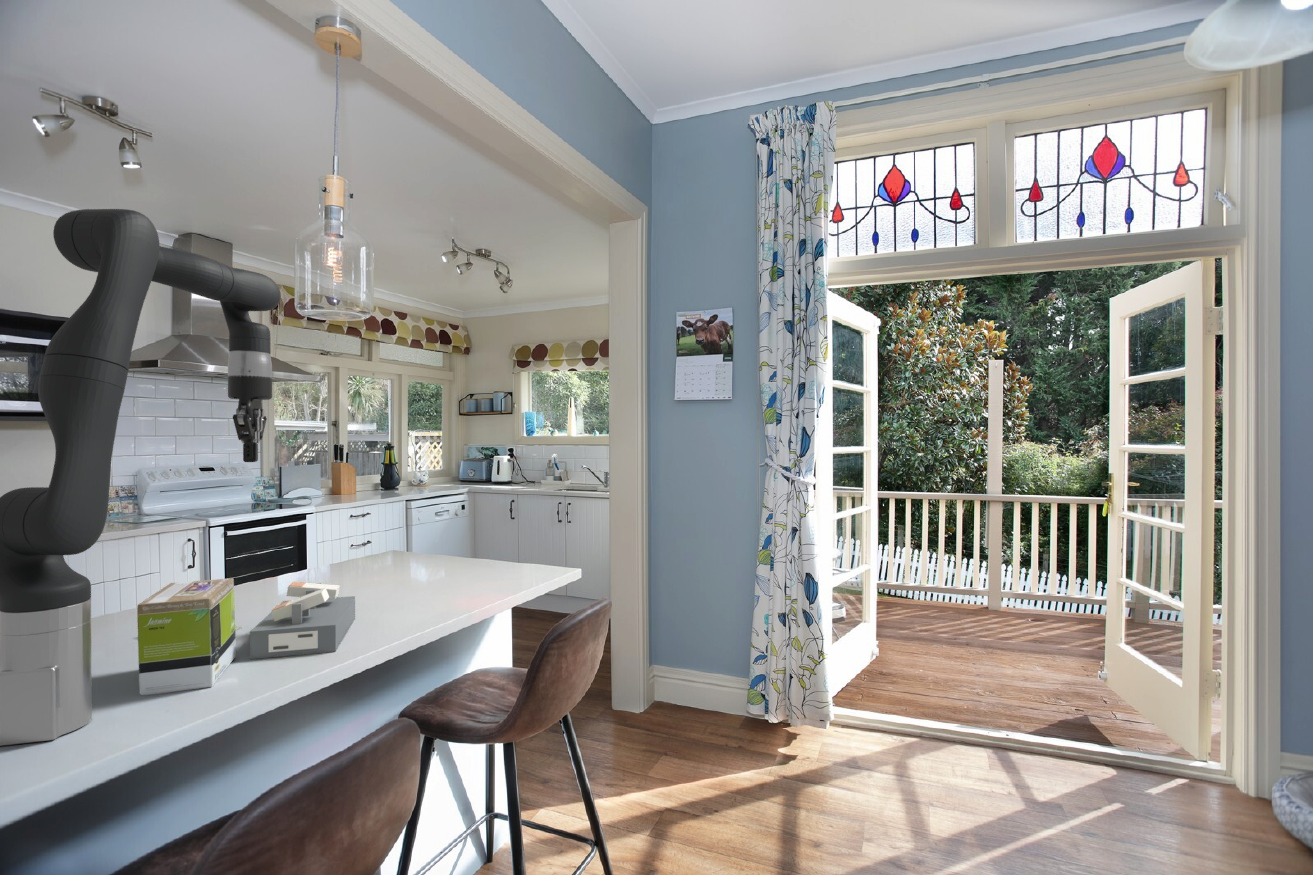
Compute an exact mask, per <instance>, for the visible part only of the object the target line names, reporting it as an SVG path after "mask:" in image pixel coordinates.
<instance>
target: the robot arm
mask: <svg viewBox="0 0 1313 875" xmlns="http://www.w3.org/2000/svg"><path fill="white" fill-rule="evenodd" d="M53 226H54V227H53V233H52V234H53V239H54V240H53V241H54V244H55V246H56V248H57V250H58V251H59V253H60V254H61V255H62V256H63V257H64V259H66V261H67V262H69V263H71V264H72V265H73V266H75V267H77V268H79V269H81V270H84V271H89V272H93V273H97V276H96V279H95V282H94V284H93V287H92V289H91V292H90V293H89V295H88V296H87V297H86V299H85V300H84V301H83V303H81V305H80V306H79V307H78V308H77V309H76V310H75V311H74V312H73V313H72V315H71V316H70V317H69V318H67V320H66V321H65V322H64V323H63V324H62V325H61V326H60V327H59V329H58V330H57V331H56V332H55V334H54V335H53V336H52V337H51V340H50V341H49V342H48V344H47V347H46V350H45V353H44V357H43V359H42V364H41V369H40V374H39V378H38V385H37V395H38V401H39V403H40V407H41V409H42V413H43V414H44V417H45V419H46V421H47V425H48V426H49V429H50V431H51V434H52V436H53V440H54V447H55V450H54V451H55V457H54V458H55V459H54V464H53V469H52V474H51V479H50V482H49V485H48V487H47V486H45V487H43V486H42V487H41V486H38V487H37V486H36V487H35V486H33V487H32V486H31V487H29V486H28V487H21V488H15V489H12V490H10V491H8V492H6V493H4V494H3V495H1V496H0V746H9V745H10V746H11V745H19V744H29V743H36V742H44V741H53V740H57V738H59V737H60V736H63V735H66V734H69V733H71V732H73V731H75V730H78V729H80V728H82V727H84V726H86V725H87V724H88V723H90V721H92V717H93V716H92V713H93V712H92V711H93V708H92V707H93V706H92V705H93V704H92V703H93V702H92V700H93V698H92V697H93V696H92V695H93V691H92V690H93V689H92V688H93V686H92V682H93V681H92V673H93V672H92V584H91V581H90V579H89V578H88V577H86V576H84V575H83V574H80V573H78V572H77V571H75V569H73V568H71V567H70V566H69V564H68V563H67V562H66V560H65V558H64V556H72V555H78V554H81V553H84V552H85V551H87V550H89V549H91V547H92V546H94V544H96V543H97V541H98V540H99V538H100V537H101V535H102V533H103V530H104V528H105V526H106V521H107V517H108V512H109V511H108V509H109V499H110V486H111V485H110V484H111V470H112V469H111V468H112V459H113V458H112V457H113V452H114V451H113V450H114V444H115V438H116V433H117V426H118V420H119V414H120V410H121V406H122V402H123V398H124V393H125V389H126V384H127V381H128V380H127V379H128V375H129V369H130V362H131V356H132V351H133V346H134V342H135V337H136V334H137V331H138V330H137V329H138V326H139V322H140V318H141V317H140V316H141V313H142V309H143V307H144V306H143V305H144V302H145V300H146V298H147V294H148V292H149V288H150V286H151V283H152V282H154V283H157V284H160V285H164V286H168V287H172V288H176V289H178V290H181V291H185V292H187V293H191V294H194V295H197V296H200V297H203V298H206V299H209V300H213V301H216V302H217V301H218V302H219V303H220V305H221V306H220V307H221V309H222V312H223V315H224V319H225V322H226V326H227V330H228V336H229V337H228V346H229V348H228V351H229V352H228V358H227V359H228V360H227V398H229V399H231V400H238V404H237V408H236V409H235V414H232V420H233V421H232V422H233V425H234V428H235V431H236V435H237V438H238V440H239V441H241V444H242V455H243V456H242V460H243V462H244V463H257V462H258V461H259V443H260V441H262V440H263V436H264V433H265V432H264V431H265V429H266V422H267V420H268V418H267V416H266V415H265V409H264V408H263V405H262V401H268V400H271V399H272V398H273V364H272V357H271V352H272V350H271V331H270V328H269V326H267V325H265V324H262V323H259V322H253V321H252V319H251V316H250V315H249V314H250V312H268V311H271V310H274V309H275V308H277V306H278V305H279V304H280V301H281V298H282V297H281V296H282V295H281V290H280V288H279V285H278V284H277V283H276V282H275V281H274V280H273V279H272V278H271V277H269V276H267V275H265V274H263V273H260V272H256V271H252V270H251V271H250V270H247V269H242V268H237V267H232V266H229V265H226V264H225V263H223V262H220V261H218V260H215V259H213V258H210V257H209V256H208V257H207V256H204V255H201V254H198V253H194V252H191V251H186V250H179V249H175V248H170V247H165V246H161V245H160V237H159V235H158V231H157V228H156V227H155V224H154V223H153V222H152V220H151V219H150V218H149V217H148V216H146V215H145V214H143V213H142V212H139V211H138V210H137V211H136V210H133V209H125V208H124V209H123V208H97V209H96V208H93V209H92V208H90V209H89V208H87V209H86V208H85V209H78V210H71V211H69V212H65V213H63V214H62V215H61V216H59V217H58V219H57V220H56V222H55V224H54V225H53Z"/></svg>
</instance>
